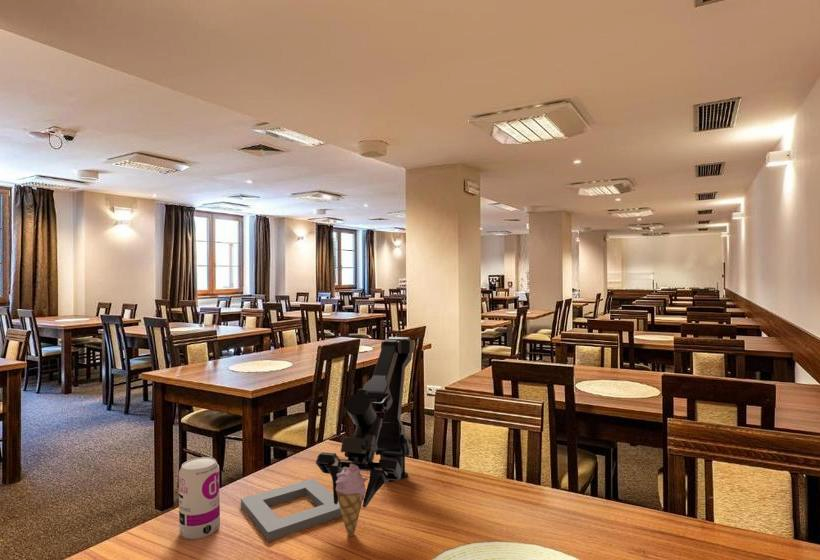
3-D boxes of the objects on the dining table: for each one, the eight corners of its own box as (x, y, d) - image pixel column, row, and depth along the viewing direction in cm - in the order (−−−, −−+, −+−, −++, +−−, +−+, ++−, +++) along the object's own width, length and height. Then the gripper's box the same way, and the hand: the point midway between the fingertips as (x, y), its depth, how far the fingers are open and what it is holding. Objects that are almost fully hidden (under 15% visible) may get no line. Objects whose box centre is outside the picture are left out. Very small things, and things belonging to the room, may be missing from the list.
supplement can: (228, 524, 109) (227, 458, 109) (201, 543, 101) (199, 472, 101) (199, 518, 112) (198, 454, 111) (171, 537, 104) (169, 468, 104)
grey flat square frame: (313, 485, 128) (313, 478, 128) (347, 514, 113) (347, 505, 113) (240, 506, 117) (240, 498, 117) (268, 541, 102) (267, 532, 102)
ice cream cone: (370, 527, 107) (369, 460, 106) (364, 543, 100) (363, 472, 100) (340, 526, 107) (339, 459, 107) (333, 542, 101) (332, 471, 101)
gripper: (318, 417, 110) (296, 486, 99) (397, 422, 105) (383, 495, 94) (333, 439, 117) (313, 506, 107) (407, 445, 113) (394, 515, 102)
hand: (349, 505), depth 102 cm, fingers closed on ice cream cone, 6 cm apart
